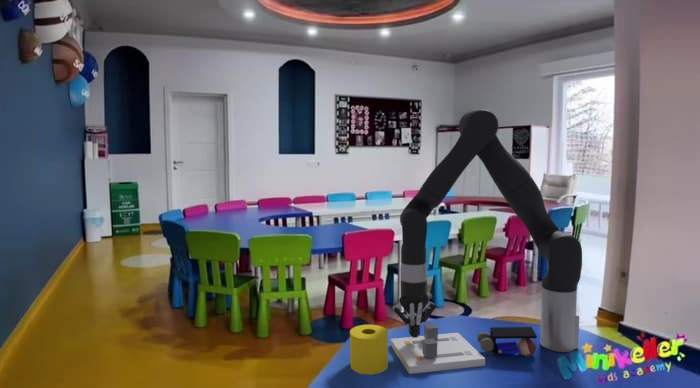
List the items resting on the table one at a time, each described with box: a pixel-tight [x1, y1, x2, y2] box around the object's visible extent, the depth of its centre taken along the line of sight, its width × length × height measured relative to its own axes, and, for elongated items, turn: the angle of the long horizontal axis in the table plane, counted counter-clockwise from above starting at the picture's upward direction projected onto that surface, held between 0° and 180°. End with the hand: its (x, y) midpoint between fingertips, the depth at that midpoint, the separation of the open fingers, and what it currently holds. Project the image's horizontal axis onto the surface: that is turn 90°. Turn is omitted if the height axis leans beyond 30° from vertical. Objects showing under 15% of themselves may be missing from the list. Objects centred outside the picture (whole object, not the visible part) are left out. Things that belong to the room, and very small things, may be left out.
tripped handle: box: [423, 323, 439, 341], centre depth 138 cm, size 3×3×4 cm
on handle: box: [422, 339, 438, 358], centre depth 127 cm, size 3×3×4 cm
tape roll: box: [349, 324, 389, 375], centre depth 127 cm, size 10×10×9 cm
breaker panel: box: [390, 332, 486, 375], centre depth 133 cm, size 21×18×2 cm
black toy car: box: [477, 326, 538, 357], centre depth 132 cm, size 7×8×15 cm
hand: (414, 336), depth 137 cm, fingers closed
